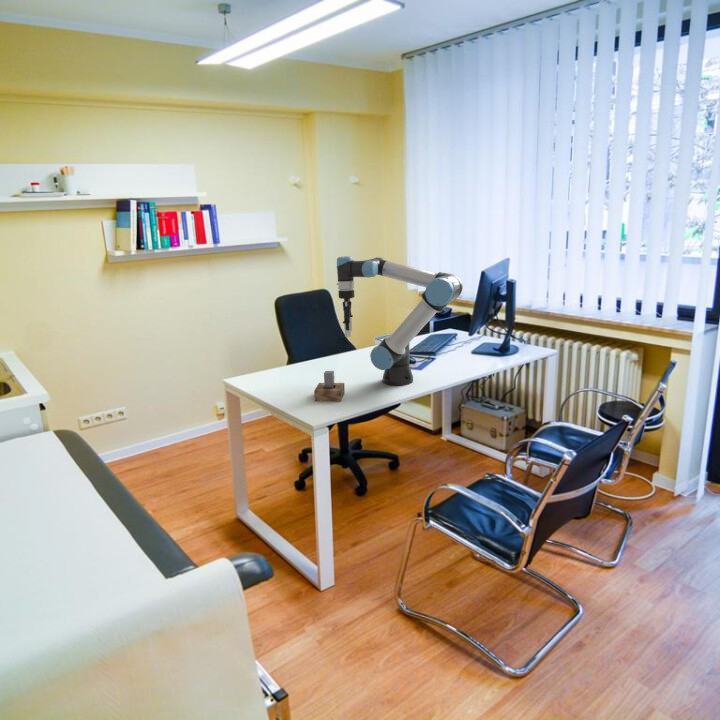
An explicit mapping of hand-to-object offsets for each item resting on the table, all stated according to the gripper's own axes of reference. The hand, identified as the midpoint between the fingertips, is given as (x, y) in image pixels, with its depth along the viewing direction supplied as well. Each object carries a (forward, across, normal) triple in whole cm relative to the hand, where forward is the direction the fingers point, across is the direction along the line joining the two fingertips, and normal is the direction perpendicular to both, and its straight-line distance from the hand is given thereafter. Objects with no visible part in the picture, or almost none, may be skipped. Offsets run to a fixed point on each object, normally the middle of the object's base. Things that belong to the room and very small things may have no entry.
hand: (348, 333), depth 282 cm
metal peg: (+25, +20, -9) cm, 33 cm away
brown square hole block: (+25, +20, -9) cm, 33 cm away
